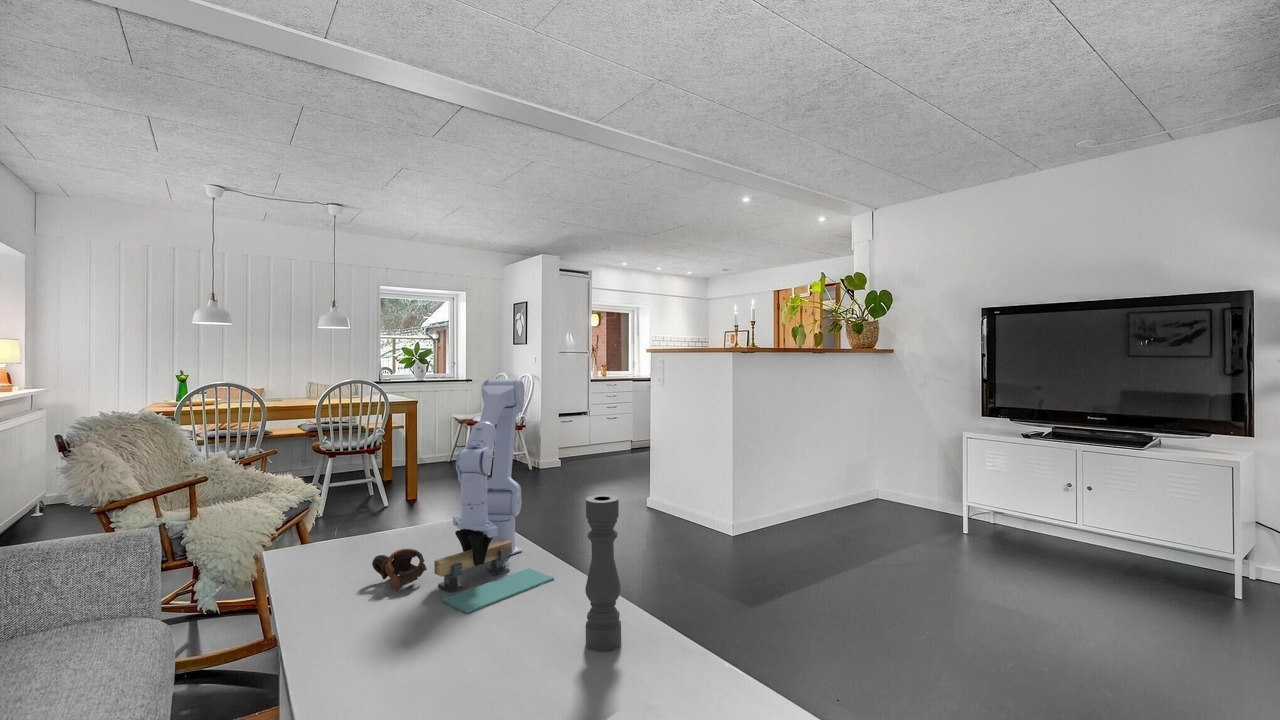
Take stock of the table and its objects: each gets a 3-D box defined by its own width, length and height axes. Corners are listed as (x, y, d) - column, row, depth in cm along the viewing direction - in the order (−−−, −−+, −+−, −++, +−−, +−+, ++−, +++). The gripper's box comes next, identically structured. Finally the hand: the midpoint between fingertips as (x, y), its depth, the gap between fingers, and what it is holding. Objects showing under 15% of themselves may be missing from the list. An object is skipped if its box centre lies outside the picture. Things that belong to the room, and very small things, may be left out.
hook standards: (437, 586, 124) (437, 560, 124) (495, 566, 135) (495, 543, 135) (451, 592, 120) (451, 566, 120) (510, 571, 132) (510, 548, 132)
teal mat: (442, 601, 116) (442, 599, 116) (528, 569, 133) (528, 568, 133) (467, 613, 110) (467, 611, 110) (554, 579, 127) (554, 577, 127)
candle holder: (616, 653, 95) (615, 503, 95) (581, 649, 97) (579, 502, 96) (625, 635, 101) (623, 494, 101) (591, 632, 103) (590, 493, 103)
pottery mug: (431, 574, 132) (434, 549, 129) (414, 608, 124) (416, 582, 120) (379, 562, 132) (381, 536, 128) (358, 595, 123) (359, 569, 120)
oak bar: (434, 573, 122) (434, 560, 122) (504, 551, 136) (504, 539, 136) (441, 576, 120) (441, 563, 120) (511, 553, 134) (511, 541, 134)
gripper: (440, 500, 129) (441, 560, 130) (477, 511, 120) (478, 575, 120) (468, 494, 135) (468, 551, 135) (505, 504, 125) (505, 566, 126)
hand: (475, 562), depth 128 cm, fingers closed on oak bar, 3 cm apart
